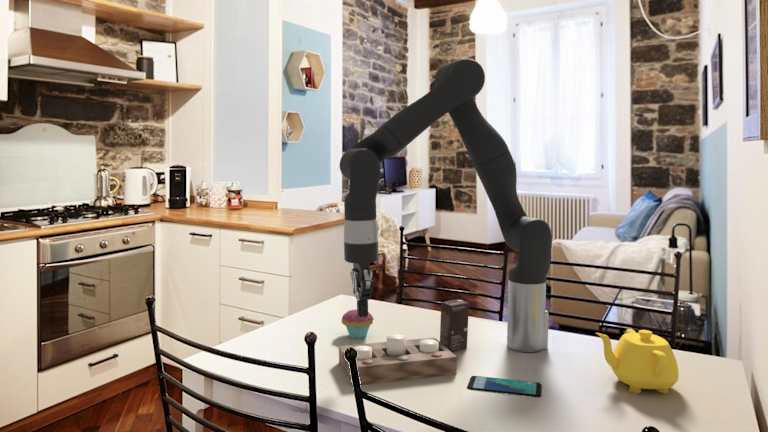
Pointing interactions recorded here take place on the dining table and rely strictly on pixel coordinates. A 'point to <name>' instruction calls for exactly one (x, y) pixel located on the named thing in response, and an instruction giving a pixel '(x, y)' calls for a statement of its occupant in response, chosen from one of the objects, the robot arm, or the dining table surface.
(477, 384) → the smartphone
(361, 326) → the cupcake
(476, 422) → the dining table surface
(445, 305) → the box
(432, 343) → the button
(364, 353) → the button
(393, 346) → the button
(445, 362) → the board
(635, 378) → the teapot
